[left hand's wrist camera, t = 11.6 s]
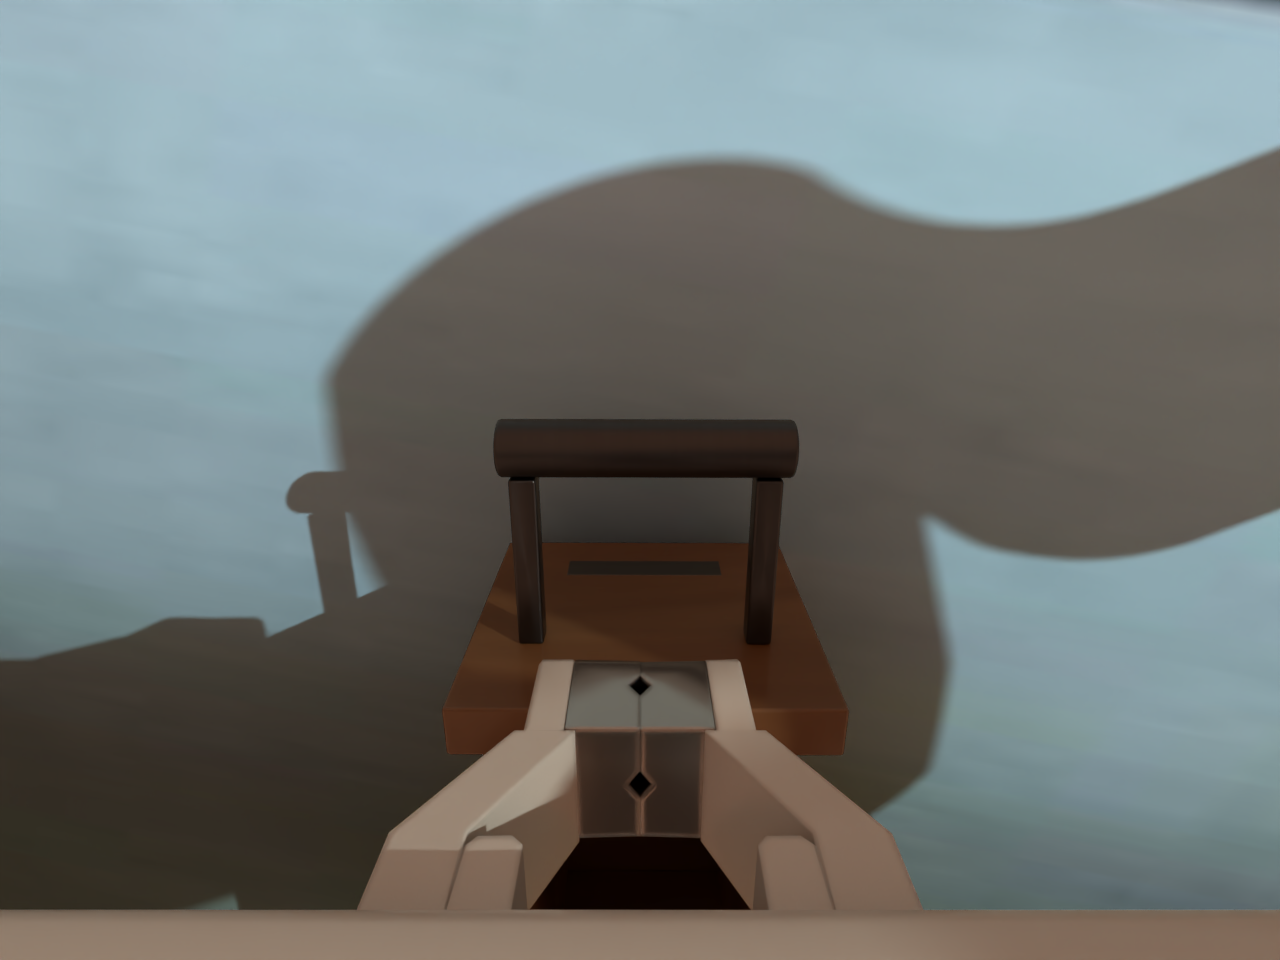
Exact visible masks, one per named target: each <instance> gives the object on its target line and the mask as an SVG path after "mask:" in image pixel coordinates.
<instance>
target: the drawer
mask: <svg viewBox="0 0 1280 960" xmlns="http://www.w3.org/2000/svg"><path fill="white" fill-rule="evenodd" d="M493 453H494V463H495V468H496V471H497V474H498V475H499V476H500V477H510V479H509V481H508V487H509V502H510V516H511V531H512V543H510V545H509V547H508V549H507V552H506V554H505V557H504V559H503V562H502V564H501V567H500V569H499V571H498V574H497V576H496V579H495V581H494V584H493V586H492V589H491V591H490V594H489V596H488V598H487V601H486V603H485V606H484V608H483V611H482V613H481V616H480V618H479V620H478V623H477V625H476V628H475V630H474V633H473V635H472V638H471V640H470V643H469V645H468V647H467V650H466V652H465V655H464V657H463V660H462V662H461V665H460V667H459V669H458V672H457V674H456V677H455V679H454V682H453V684H452V687H451V689H450V692H449V694H448V696H447V699H446V701H445V704H444V706H443V709H442V714H443V722H444V731H445V739H446V748H447V753H448V754H486V753H487V752H488V751H489V750H491V749H492V748H493V747H494V746H496V745H497V744H498V743H499V742H501V741H502V740H503V739H504V738H505V737H507V736H508V735H509V734H510V733H512V732H513V731H514V730H524V727H525V723H526V719H527V714H528V710H529V706H530V701H531V697H532V693H533V688H534V684H535V680H536V675H537V671H538V667H539V664H540V663H541V661H542V660H574V661H576V660H616V661H640V662H664V661H705V660H725V659H737V660H738V661H739V662H740V663H741V667H742V672H743V676H744V680H745V685H746V689H747V693H748V697H749V702H750V706H751V710H752V715H753V719H754V723H755V727H756V730H766V731H767V732H768V733H770V734H771V735H772V736H773V737H775V738H776V739H777V740H778V741H779V742H781V743H782V744H783V745H784V746H786V747H787V748H788V749H789V750H790V751H792V752H793V753H794V754H795V755H843V753H844V747H845V739H846V731H847V724H848V716H849V709H848V707H847V705H846V702H845V700H844V698H843V695H842V693H841V691H840V688H839V686H838V684H837V681H836V679H835V676H834V674H833V672H832V669H831V667H830V665H829V662H828V660H827V658H826V655H825V653H824V651H823V648H822V646H821V644H820V641H819V639H818V637H817V634H816V632H815V630H814V627H813V625H812V623H811V620H810V618H809V616H808V613H807V611H806V608H805V606H804V604H803V601H802V599H801V597H800V594H799V592H798V590H797V587H796V585H795V583H794V580H793V578H792V576H791V573H790V571H789V569H788V566H787V564H786V562H785V559H784V557H783V555H782V552H781V550H780V548H779V535H780V522H781V509H782V497H783V484H784V483H783V480H782V478H791V477H793V476H794V475H795V472H796V470H797V466H798V459H799V436H798V430H797V427H796V424H795V422H794V421H792V420H672V419H500V420H498V422H497V424H496V427H495V431H494V442H493ZM539 477H653V478H753V483H752V499H751V515H750V531H749V543H542V532H541V513H540V493H539ZM530 910H751V909H750V908H749V907H748V905H747V904H746V902H745V901H744V900H743V898H742V897H741V896H740V894H739V893H738V891H737V890H736V889H735V887H734V886H733V885H732V883H731V882H730V880H729V879H728V878H727V876H726V875H725V874H724V872H723V871H722V870H721V868H720V867H719V865H718V864H717V863H716V861H715V860H714V859H713V857H712V856H711V854H710V853H709V852H708V850H707V849H706V848H705V846H704V845H703V843H702V842H701V838H683V837H648V836H630V837H596V838H579V843H578V844H577V846H576V847H575V848H574V850H573V851H572V852H571V854H570V855H569V856H568V858H567V859H566V861H565V862H564V863H563V865H562V866H561V867H560V869H559V870H558V872H557V873H556V874H555V876H554V877H553V878H552V880H551V881H550V882H549V884H548V885H547V887H546V888H545V889H544V891H543V892H542V893H541V895H540V896H539V897H538V899H537V900H536V902H535V903H534V904H533V906H532V907H531V908H530Z"/></svg>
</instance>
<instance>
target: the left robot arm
mask: <svg viewBox="0 0 1280 960" xmlns="http://www.w3.org/2000/svg"><path fill="white" fill-rule="evenodd" d="M630 836H648V837H683V838H701V842H702V843H703V845H704V846H705V848H706V849H707V850H708V852H709V853H710V854H711V856H712V857H713V859H714V860H715V861H716V863H717V864H718V865H719V867H720V868H721V870H722V871H723V872H724V874H725V875H726V876H727V878H728V879H729V880H730V882H731V883H732V885H733V886H734V887H735V889H736V890H737V891H738V893H739V894H740V896H741V897H742V898H743V900H744V901H745V902H746V904H747V905H748V907H749V908H750V909H751V910H530V908H531V907H532V906H533V904H534V903H535V902H536V900H537V899H538V897H539V896H540V895H541V893H542V892H543V891H544V889H545V888H546V887H547V885H548V884H549V882H550V881H551V880H552V878H553V877H554V876H555V874H556V873H557V872H558V870H559V869H560V867H561V866H562V865H563V863H564V862H565V861H566V859H567V858H568V856H569V855H570V854H571V852H572V851H573V850H574V848H575V847H576V846H577V844H578V843H579V838H596V837H630ZM0 960H1280V910H923V908H922V905H921V903H920V901H919V898H918V896H917V893H916V891H915V888H914V886H913V884H912V881H911V879H910V876H909V874H908V871H907V869H906V867H905V864H904V862H903V859H902V857H901V854H900V852H899V850H898V847H897V845H896V842H895V840H894V837H893V835H892V833H891V832H889V831H888V830H887V829H886V828H884V827H883V826H882V825H881V824H880V823H878V822H877V821H876V820H875V819H873V818H872V817H871V816H870V815H869V814H867V813H866V812H865V811H864V810H862V809H861V808H860V807H859V806H858V805H856V804H855V803H854V802H853V801H852V800H850V799H849V798H848V797H847V796H845V795H844V794H843V793H842V792H841V791H839V790H838V789H837V788H836V787H834V786H833V785H832V784H831V783H830V782H828V781H827V780H826V779H825V778H823V777H822V776H821V775H820V774H819V773H817V772H816V771H815V770H814V769H812V768H811V767H810V766H809V765H808V764H806V763H805V762H804V761H803V760H801V759H800V758H799V757H798V756H797V755H795V754H794V753H793V752H792V751H790V750H789V749H788V748H787V747H786V746H784V745H783V744H782V743H781V742H779V741H778V740H777V739H776V738H775V737H773V736H772V735H771V734H770V733H768V732H767V731H766V730H756V727H755V723H754V719H753V715H752V710H751V706H750V702H749V697H748V693H747V689H746V685H745V680H744V676H743V672H742V667H741V663H740V662H739V661H738V660H737V659H725V660H705V661H664V662H640V661H616V660H576V661H574V660H542V661H541V663H540V664H539V667H538V671H537V675H536V680H535V684H534V688H533V693H532V697H531V701H530V706H529V710H528V714H527V719H526V723H525V727H524V730H514V731H513V732H512V733H510V734H509V735H508V736H507V737H505V738H504V739H503V740H502V741H501V742H499V743H498V744H497V745H496V746H494V747H493V748H492V749H491V750H489V751H488V752H487V753H486V754H485V755H483V756H482V757H481V758H480V759H478V760H477V761H476V762H475V763H474V764H472V765H471V766H470V767H469V768H467V769H466V770H465V771H464V772H462V773H461V774H460V775H459V776H458V777H456V778H455V779H454V780H453V781H451V782H450V783H449V784H448V785H447V786H445V787H444V788H443V789H442V790H440V791H439V792H438V793H437V794H436V795H434V796H433V797H432V798H431V799H429V800H428V801H427V802H426V803H424V804H423V805H422V806H421V807H420V808H418V809H417V810H416V811H415V812H413V813H412V814H411V815H410V816H409V817H407V818H406V819H405V820H404V821H402V822H401V823H400V824H399V825H397V826H396V827H395V828H394V829H393V830H391V831H390V832H389V833H388V836H387V838H386V841H385V843H384V845H383V848H382V850H381V853H380V855H379V857H378V860H377V862H376V865H375V867H374V869H373V872H372V874H371V877H370V879H369V881H368V884H367V886H366V889H365V891H364V893H363V896H362V898H361V900H360V903H359V905H358V908H357V910H0Z"/></svg>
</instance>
